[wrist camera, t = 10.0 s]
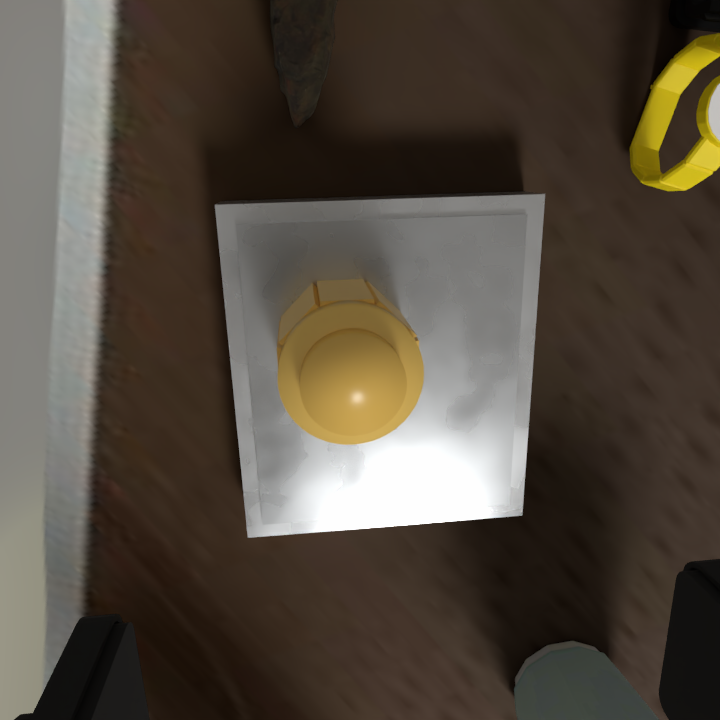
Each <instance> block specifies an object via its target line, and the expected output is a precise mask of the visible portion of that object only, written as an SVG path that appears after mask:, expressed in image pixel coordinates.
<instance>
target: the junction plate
mask: <svg viewBox="0 0 720 720" xmlns="http://www.w3.org/2000/svg"><path fill="white" fill-rule="evenodd" d="M544 203H545V194H541V193H533V192H525V191H519V192H488V193H457V194H425V195H394V196H363V197H331V198H300V199H269V200H237V201H221V202H219V203H217V204H215V212H216V222H217V232H218V243H219V253H220V263H221V273H222V283H223V293H224V303H225V313H226V323H227V333H228V343H229V353H230V363H231V373H232V383H233V393H234V403H235V414H236V424H237V434H238V444H239V454H240V464H241V474H242V484H243V494H244V504H245V514H246V524H247V534H248V538H251V537H263V536H276V535H288V534H300V533H313V532H325V531H338V530H350V529H363V528H375V527H387V526H400V525H412V524H425V523H437V522H449V521H462V520H474V519H487V518H499V517H511V516H522V514H523V500H524V486H525V471H526V457H527V443H528V429H529V415H530V401H531V386H532V372H533V358H534V344H535V330H536V316H537V302H538V287H539V273H540V259H541V245H542V231H543V217H544ZM348 279H363V280H364V282H365V283H366V282H367V281H369V282H370V283H371V284H372V285H373V286H374V287H375V288H376V289H377V290H378V291H379V292H380V293H381V294H382V295H383V296H385V297H386V298H387V299H388V300H389V301H390V302H391V303H392V304H393V305H394V306H395V307H396V308H397V309H398V310H399V311H400V312H401V313H402V315H403V316H404V318H405V319H406V321H407V322H408V323H409V325H410V326H411V328H412V329H413V331H414V332H415V334H416V335H417V336H416V337H417V338H418V340H419V350H420V352H421V355H422V360H423V365H424V381H423V387H422V392H421V394H420V397H419V400H418V402H417V404H416V406H415V408H414V409H413V411H412V412H411V414H410V415H409V416H408V418H407V419H406V420H405V421H404V422H403V423H402V424H401V425H400V426H398V427H397V428H396V429H395V430H393V431H392V432H390V433H389V434H387V435H385V436H383V437H381V438H379V439H376V440H374V441H371V442H367V443H362V444H354V445H343V444H335V443H330V442H326V441H324V440H321V439H318V438H316V437H314V436H312V435H310V434H309V433H307V432H306V431H305V430H303V429H302V428H301V427H300V426H299V425H297V424H296V423H295V422H294V420H293V419H292V418H291V417H290V415H289V414H288V412H287V411H286V409H285V407H284V405H283V403H282V400H281V398H280V394H279V389H278V361H277V339H278V330H279V321H281V316H282V315H283V314H284V313H285V312H286V311H287V309H288V308H289V307H290V306H291V305H292V304H293V303H294V302H295V301H296V300H297V299H298V298H299V296H300V295H301V294H302V293H303V292H304V291H305V290H306V289H307V288H308V287H309V286H310V285H311V284H312V283H313V284H314V285H315V286H316V287H317V281H323V280H348Z"/></svg>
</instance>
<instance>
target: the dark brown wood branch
mask: <svg viewBox="0 0 720 720" xmlns="http://www.w3.org/2000/svg"><path fill="white" fill-rule="evenodd" d="M270 1H271V2H270V23H271V35H272V40H273V46H274V65H275V68H277V70H278V74H279V80H280V89H281V92H282V93H283V94H284V95H285V96H286V98H287V102H288V107H289V111H290V116H291V119H292V122H293V124H294V127H295V128H298V127H300V126H301V125H302V124H303V123H304V122H305V120H307V119H308V118H309V117H310V116H311V115H312V114H313V113H314V111H315V108H316V105H317V102H318V99H319V96H320V92H321V87H322V85H323V83H324V80H325V78H326V76H327V71H328V67H329V62H330V57H331V52H332V47H333V43H334V39H335V31H334V12H335V8H336V5H337V1H338V0H270Z"/></svg>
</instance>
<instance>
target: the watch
mask: <svg viewBox="0 0 720 720" xmlns="http://www.w3.org/2000/svg"><path fill="white" fill-rule="evenodd" d="M719 56H720V33H717V34H711V35H706V36H700V37H699V38H696V39H695V40H694V41H692V42H691V43H690V44H689V45H687V46H686V47H685V48H684V49H682V50H681V51H680V52H678V53H677V54H676V55H675V56H674V58H672V59H671V60H670V61H669V63H668V64H667V65H666V67H665V68H664V69H663V71H662V72H661V73H660V75H659V76H658V77H657V79H656V80H655V81H654V83H653V85H651V87H650V89H651V92H650V95H649V97H648V100H647V103H646V106H645V108H644V111H643V114H642V116H641V119H640V122H639V124H638V127H637V130H636V132H635V135H634V138H633V140H632V143H631V146H630V162H631V169H632V172H633V174H634V175H635V176H636V177H637V178H638V180H639V181H640V182H641V183H643V184H645V185H648V186H652V187H655V188H659V189H662V190H666V191H684V190H687V189H690V188H691V187H693V186H694V185H696V184H697V183H699V182H701V181H702V180H704V179H705V178H707V177H708V176H710V175H711V174H713V171H716V170H717V169H718V168H719V166H720V75H719V76H718V77H716V78H715V79H713V80H712V81H711V83H710V84H709V85H708V86H707V87H706V88H705V90H704V92H703V94H702V95H701V97H700V99H699V103H698V107H697V112H696V114H697V126H698V128H699V131H700V134H701V135H702V136H701V138H700V139H699V140H698V142H697V143H696V144H695V145H694V147H693V148H692V149H691V151H690V152H689V153H688V155H687V156H686V157H685V159H684V160H682V161H681V162H680V163H678V164H677V165H675V166H674V167H673V168H671V169H670V170H669V171H667V172H666V173H664V174H662V173H661V172H660V164H659V153H658V151H659V149H660V146H661V144H662V141H663V139H664V136H665V133H666V131H667V128H668V126H669V123H670V121H671V118H672V115H673V113H674V110H675V108H676V105H677V102H678V100H679V97H680V95H681V93H682V92H683V91H684V90H685V88H686V87H687V86H688V85H689V84H690V82H691V81H692V80H693V79H694V77H695V76H696V75H697V74H698V72H699V71H700V70H701V69H702V68H704V67H705V66H707V65H708V64H709V63H711V62H712V61H713V60H715V59H716V58H718V57H719Z"/></svg>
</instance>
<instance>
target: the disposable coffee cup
mask: <svg viewBox="0 0 720 720" xmlns="http://www.w3.org/2000/svg"><path fill="white" fill-rule="evenodd" d="M514 697H515V709H516V714H517V719H518V720H659V719H658V717H657V716H656V715H655V714H654V713H653V711H652V710H651V709H650V708H649V707H648V705H647V704H646V703H645V702H644V700H643V699H642V698H641V697H640V696H639V694H638V693H637V692H636V691H635V690H634V688H633V687H632V686H631V685H630V683H629V682H628V681H627V680H626V679H625V677H624V676H623V675H622V674H621V673H620V671H619V670H618V669H617V668H616V667H615V665H614V664H613V663H612V662H611V661H610V660H609V658H608V657H607V656H606V655H605V654H604V653H602V652H599V651H598V650H597V649H596V648H595V647H593V646H590V645H586V644H583V643H579V642H576V641H568V642H563V643H557V644H551V645H547V646H545V647H544V648H542V649H541V650H539V651H538V652H536V653H535V654H533V655H532V656H530V657H529V658H527V659H526V660H525V662H524V664H523V665H522V667H521V669H520V670H519V672H518V674H517V676H516V677H515V688H514Z"/></svg>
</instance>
